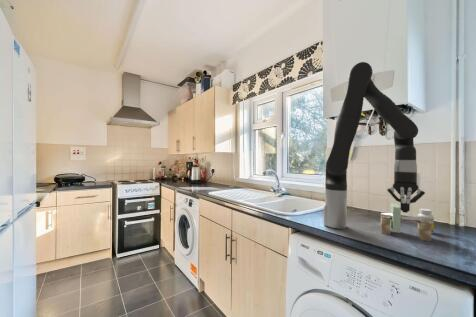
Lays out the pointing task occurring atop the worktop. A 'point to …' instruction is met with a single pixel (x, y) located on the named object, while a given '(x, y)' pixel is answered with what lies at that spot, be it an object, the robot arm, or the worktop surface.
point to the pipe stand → (423, 228)
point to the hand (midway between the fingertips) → (405, 212)
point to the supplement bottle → (427, 214)
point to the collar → (395, 217)
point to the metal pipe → (408, 218)
